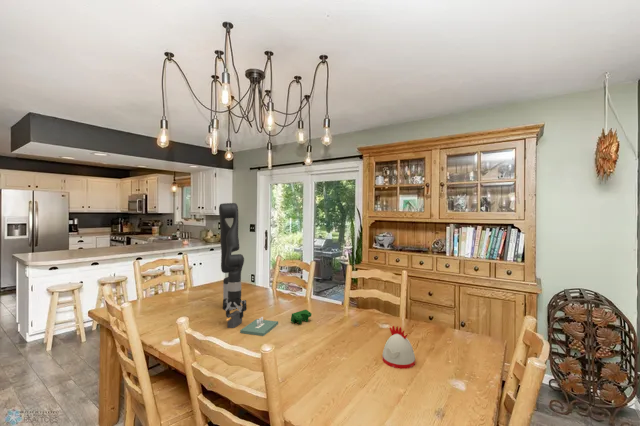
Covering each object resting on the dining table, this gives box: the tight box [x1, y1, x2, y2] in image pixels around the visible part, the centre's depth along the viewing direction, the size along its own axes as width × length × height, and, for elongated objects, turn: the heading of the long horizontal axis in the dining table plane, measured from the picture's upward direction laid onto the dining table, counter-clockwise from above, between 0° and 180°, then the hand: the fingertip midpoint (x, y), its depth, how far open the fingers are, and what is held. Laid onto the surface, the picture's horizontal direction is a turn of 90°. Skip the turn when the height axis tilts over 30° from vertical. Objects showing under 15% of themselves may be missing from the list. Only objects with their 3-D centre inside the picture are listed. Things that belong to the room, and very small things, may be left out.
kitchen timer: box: [382, 325, 416, 370], centre depth 136 cm, size 14×14×15 cm
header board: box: [239, 316, 279, 337], centre depth 173 cm, size 18×14×6 cm
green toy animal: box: [290, 309, 312, 325], centre depth 183 cm, size 12×6×9 cm, turn 129°
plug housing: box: [226, 309, 243, 329], centre depth 176 cm, size 12×4×7 cm, turn 163°
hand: (234, 317), depth 177 cm, fingers open, 8 cm apart
